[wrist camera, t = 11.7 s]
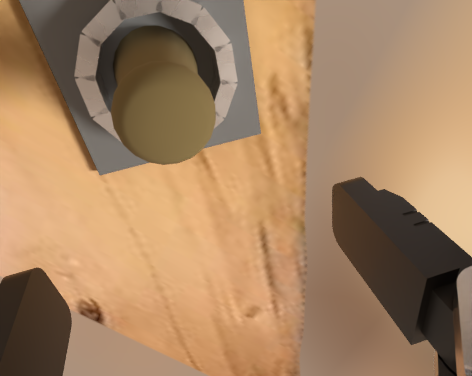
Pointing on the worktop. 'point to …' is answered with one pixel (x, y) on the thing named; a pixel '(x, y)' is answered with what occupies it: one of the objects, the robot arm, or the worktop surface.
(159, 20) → the fitting mat
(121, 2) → the ring collar
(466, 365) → the robot arm
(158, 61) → the cork
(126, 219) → the worktop surface
